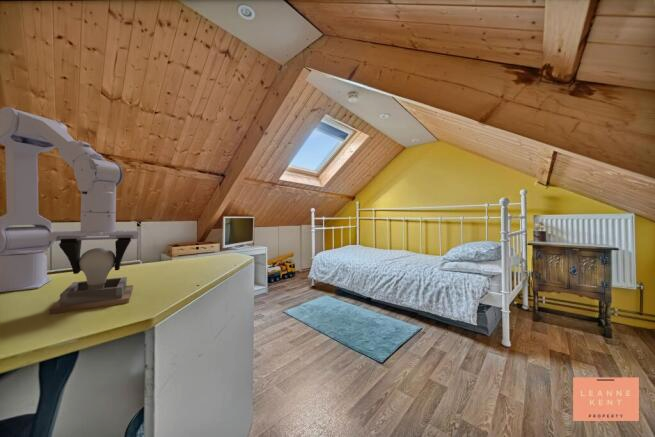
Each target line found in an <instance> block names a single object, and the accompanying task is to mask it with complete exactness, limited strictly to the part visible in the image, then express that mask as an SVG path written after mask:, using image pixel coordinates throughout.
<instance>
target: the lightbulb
mask: <svg viewBox="0 0 655 437" xmlns="http://www.w3.org/2000/svg"><path fill="white" fill-rule="evenodd" d="M115 260H116V253H114V252H113V251H112V250H111V249H109V248H105V247H96V248H95V247H94V248H91V249H89V250H87V251H85V252H84V253H82V255H80V260H79V266H80V268H81V269H80V271H82V272H83V274H84V275H85V277H86V281H87V285H88V290H92V289H101V288H104V284H105V283H106V279H108V276H109V273H110V272H111V271H112V269H113V268H114V267H115Z"/></svg>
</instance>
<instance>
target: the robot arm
mask: <svg viewBox="0 0 655 437" xmlns="http://www.w3.org/2000/svg"><path fill="white" fill-rule="evenodd" d="M0 144H1V145H2V146H4V151H5V188H6V190H5V192H6V195H5V196H6V213H5V214H4V215H1V216H0V293H3V292H5V293H6V292H12V291H13V292H14V291H23V290H33V289H39V288H41V287H43V286H44V285H45V284H46V283H48V282H50V281H51V280H53V277H48V256H47V255H46V253H45V252H48V251H49V248H51V247H52V246H53V244H54V243H55V242H60V243H58V246H59V248H60V249H61V250H62V251H63V253H64V254H65V256H66V258H67V260H68V262H69V263H70V266H71V269H72V273H73V275H78V274H80V272H81V268H80V266H79V260H80V257H81V248H82V241H100V240H101V241H103V240H105V241H106V240H107V241H108V240H115V256H116V260H115V265H114V271H119V270H120V269H121V264H122V259H123V257H124V255H125V253H126V250H127V249H128V247H129V245H130V243H131V242H132V240H139V239H140V230H116V220H117V219H116V216H117V214H116V213H117V209H116V208H117V186H119V185H120V184H121V183H122V181H123V180H124V171H123V168H122V166H121V165H120V164H119V163H118V162H115V161H107V160H106V159H105V158H104V157H103V155H102V154H100V153H98V152H97V151H96V150H94V149H93V148H92V145H91V144H90V143H89V142H87V141H86V142H85V141H81V140H79V141H78V140H75V139H74V138H73V137H72V136H71V135H70V134H69V133H68V127H67V125H66V124H64V123H63V122H62V121H59V120H54V119H49V118H46V117H45V116H44V117H43V116H40V115H37V114H33V113H30V112H25V111H22V110H20V109H19V110H18V109H15V108H14V107H12V106H4V107H2V108H0ZM55 148H57V149H58V151H57V152H58V153H57V154H58V155H59V157H60V159H62V161H64V162H65V163H66V164H67V165H69V167H71V168H72V169H73V175H74V178H75V180H76V183H77V189H78V191H80V230H65V231H64V230H63V231H54V229H53V225H52V221H51V220H49V219H47V218H45V217H43V216H41V215H40V213H39V179H38V178H39V177H38V176H39V174H38V169H39V167H38V155H39V154H41V153H48V152H51V151H52V150H54V149H55ZM27 225H28V226H27ZM13 226H14V227H13Z"/></svg>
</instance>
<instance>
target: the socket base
mask: <svg viewBox="0 0 655 437" xmlns="http://www.w3.org/2000/svg"><path fill="white" fill-rule="evenodd" d="M127 281H128V280H127V276H124V277H123V276H122V277H114V278H107V279H106V283H105V284H104V288H101V289H92V290H88V285H87V280H84V281H83V280H82V281H75V282H72V283H71V284H70V285H69V286H67V288H65V289H64V290H63V291H61V293H60V294H59V299H58V300H57V301H56V302H55V303H54V304H53V305H52V306H51V307H50V308H49V309H48V315H53V314H60V313H68V312H72V311H73V312H74V311H81V310H87V309H93V308H102V307H107V306H115V305H122V304H129V302H130V300H131V297H132V293H133V290H134V285H132V284H130V285H129V284H127Z"/></svg>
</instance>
